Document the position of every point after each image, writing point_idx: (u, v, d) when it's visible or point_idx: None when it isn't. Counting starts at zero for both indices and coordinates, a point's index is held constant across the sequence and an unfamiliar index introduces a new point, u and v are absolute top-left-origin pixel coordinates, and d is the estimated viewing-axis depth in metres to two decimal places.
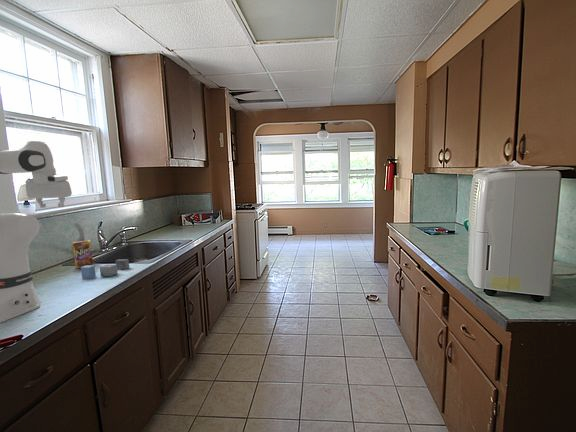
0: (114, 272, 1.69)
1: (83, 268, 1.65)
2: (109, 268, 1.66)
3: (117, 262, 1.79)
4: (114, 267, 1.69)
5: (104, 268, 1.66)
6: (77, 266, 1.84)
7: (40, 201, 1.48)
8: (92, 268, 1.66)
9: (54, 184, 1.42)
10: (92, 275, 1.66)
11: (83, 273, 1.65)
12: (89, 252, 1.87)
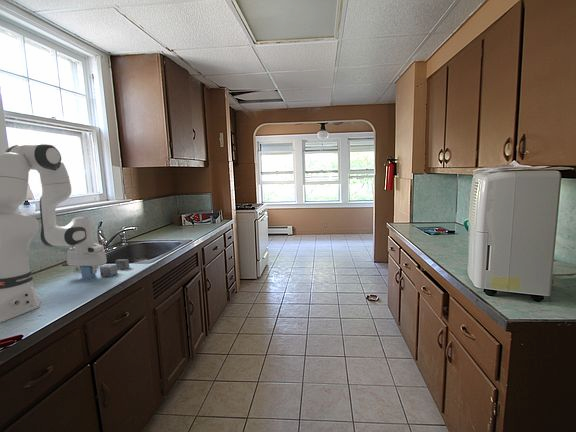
0: (114, 272, 1.69)
1: (83, 268, 1.65)
2: (109, 268, 1.66)
3: (117, 262, 1.79)
4: (114, 267, 1.69)
5: (104, 268, 1.66)
6: None
7: (80, 268, 1.67)
8: (92, 268, 1.66)
9: (93, 254, 1.62)
10: (92, 275, 1.66)
11: (83, 273, 1.65)
12: None
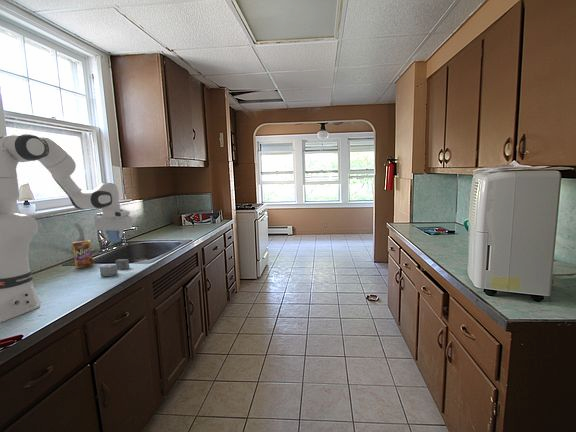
0: (114, 272, 1.69)
1: (110, 232, 1.72)
2: (109, 268, 1.66)
3: (117, 262, 1.79)
4: (114, 267, 1.69)
5: (104, 268, 1.66)
6: (77, 266, 1.84)
7: (107, 232, 1.74)
8: (118, 232, 1.74)
9: (120, 218, 1.69)
10: (118, 239, 1.74)
11: (110, 237, 1.73)
12: (89, 252, 1.87)
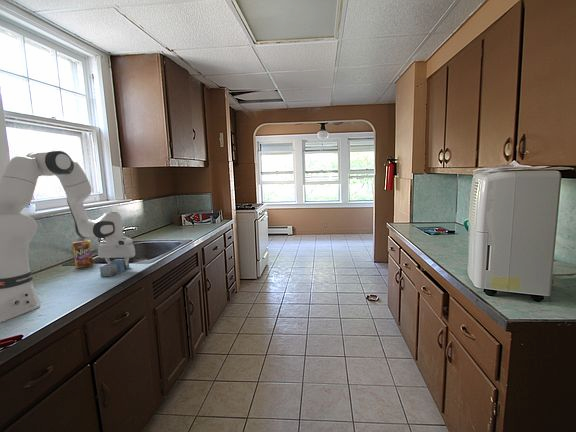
0: (114, 272, 1.69)
1: (113, 262, 1.75)
2: (109, 268, 1.66)
3: None
4: (114, 267, 1.69)
5: (104, 268, 1.66)
6: (77, 266, 1.84)
7: (108, 260, 1.77)
8: (122, 262, 1.76)
9: (123, 246, 1.72)
10: (122, 268, 1.76)
11: None
12: (89, 252, 1.87)
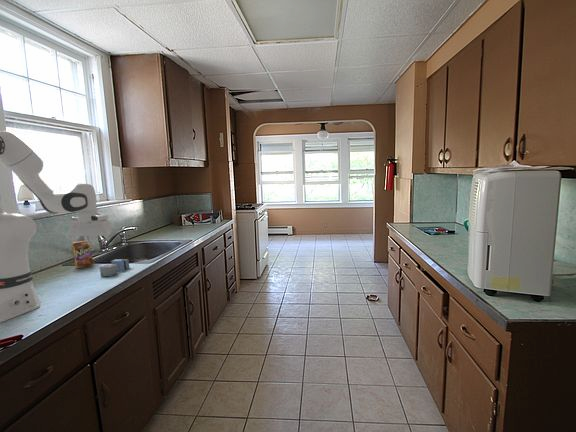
0: (114, 272, 1.69)
1: (113, 262, 1.75)
2: (109, 268, 1.66)
3: None
4: (114, 267, 1.69)
5: (104, 268, 1.66)
6: (77, 266, 1.84)
7: (88, 238, 1.57)
8: (122, 262, 1.76)
9: (96, 223, 1.52)
10: (122, 268, 1.76)
11: None
12: (89, 252, 1.87)
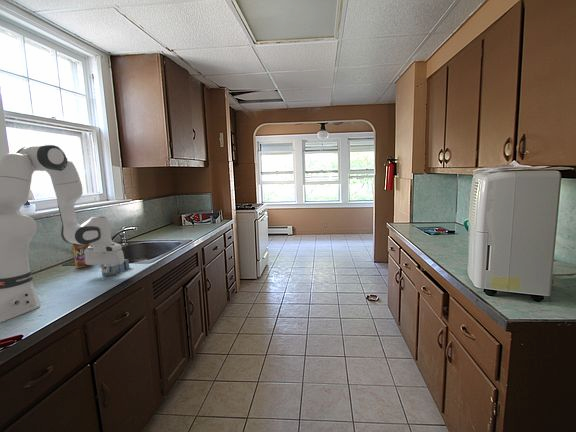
0: (115, 271, 1.70)
1: None
2: (110, 267, 1.67)
3: None
4: (115, 266, 1.70)
5: (106, 267, 1.67)
6: (77, 266, 1.84)
7: (103, 267, 1.66)
8: None
9: (111, 253, 1.62)
10: (122, 268, 1.76)
11: None
12: None
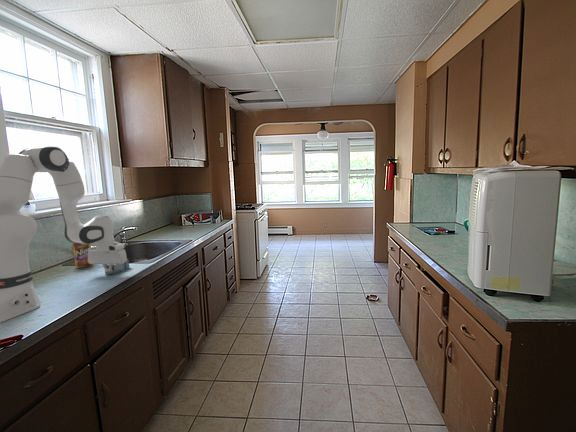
0: (118, 270, 1.72)
1: None
2: (113, 266, 1.69)
3: None
4: (118, 265, 1.72)
5: (108, 266, 1.70)
6: (77, 266, 1.84)
7: (105, 266, 1.69)
8: None
9: (114, 252, 1.64)
10: (122, 268, 1.76)
11: None
12: None
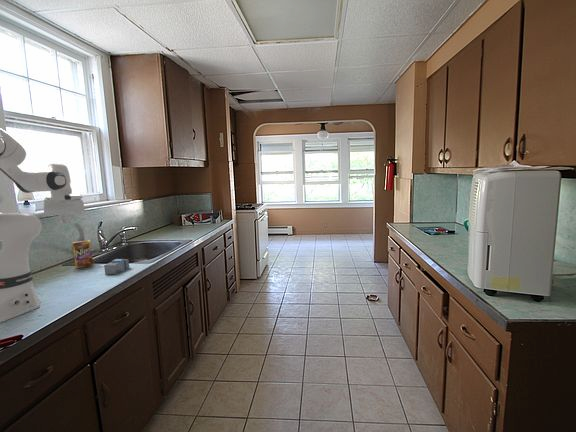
0: (118, 270, 1.72)
1: (114, 261, 1.75)
2: (113, 266, 1.69)
3: None
4: (118, 265, 1.72)
5: (108, 266, 1.70)
6: (77, 266, 1.84)
7: (62, 217, 1.63)
8: (122, 261, 1.76)
9: (70, 202, 1.58)
10: (122, 268, 1.76)
11: None
12: (89, 252, 1.87)
